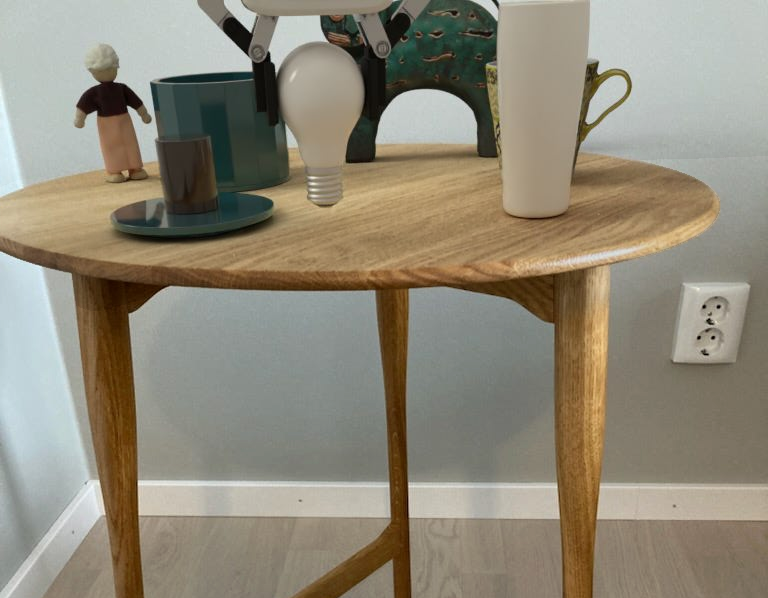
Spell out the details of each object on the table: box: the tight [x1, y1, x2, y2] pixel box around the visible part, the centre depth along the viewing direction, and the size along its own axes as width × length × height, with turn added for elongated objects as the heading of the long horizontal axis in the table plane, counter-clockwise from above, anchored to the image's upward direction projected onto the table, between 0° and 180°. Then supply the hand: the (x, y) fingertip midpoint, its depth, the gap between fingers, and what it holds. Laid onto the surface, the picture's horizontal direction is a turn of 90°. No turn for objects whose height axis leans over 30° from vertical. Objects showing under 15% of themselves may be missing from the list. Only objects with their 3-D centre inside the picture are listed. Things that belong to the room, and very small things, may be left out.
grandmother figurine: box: [73, 42, 153, 183], centre depth 92 cm, size 8×4×13 cm, turn 130°
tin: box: [149, 70, 291, 193], centre depth 90 cm, size 12×12×10 cm
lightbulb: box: [276, 40, 365, 209], centre depth 65 cm, size 6×6×11 cm
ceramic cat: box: [319, 0, 500, 164], centre depth 95 cm, size 20×6×20 cm, turn 88°
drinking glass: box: [497, 0, 591, 219], centre depth 70 cm, size 7×7×15 cm
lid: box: [109, 133, 276, 239], centre depth 74 cm, size 13×13×7 cm
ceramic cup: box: [486, 57, 633, 182], centre depth 83 cm, size 13×10×10 cm
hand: (321, 119), depth 65 cm, fingers closed on lightbulb, 6 cm apart
